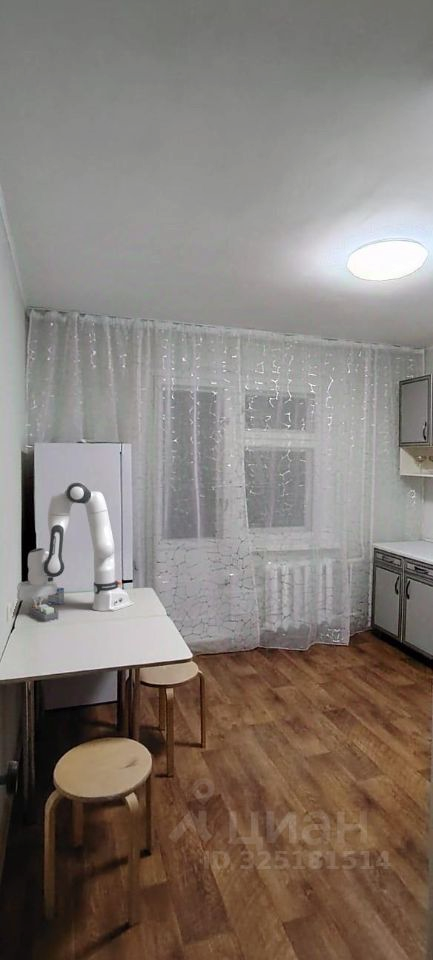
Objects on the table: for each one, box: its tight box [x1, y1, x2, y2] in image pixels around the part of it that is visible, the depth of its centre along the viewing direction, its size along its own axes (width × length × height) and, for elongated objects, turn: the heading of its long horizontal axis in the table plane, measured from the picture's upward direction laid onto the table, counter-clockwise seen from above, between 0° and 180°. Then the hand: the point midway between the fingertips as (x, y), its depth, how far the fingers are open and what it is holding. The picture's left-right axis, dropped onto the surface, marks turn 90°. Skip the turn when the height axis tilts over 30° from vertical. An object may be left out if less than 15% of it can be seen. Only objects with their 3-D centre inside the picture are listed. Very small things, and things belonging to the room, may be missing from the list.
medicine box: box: [47, 587, 65, 605], centre depth 280 cm, size 8×4×9 cm, turn 73°
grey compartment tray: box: [28, 603, 59, 623], centre depth 257 cm, size 7×20×4 cm, turn 42°
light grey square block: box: [38, 603, 50, 612], centre depth 257 cm, size 4×4×3 cm
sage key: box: [43, 606, 55, 615], centre depth 252 cm, size 4×4×3 cm
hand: (37, 605), depth 262 cm, fingers closed, pressing on terracotta key
